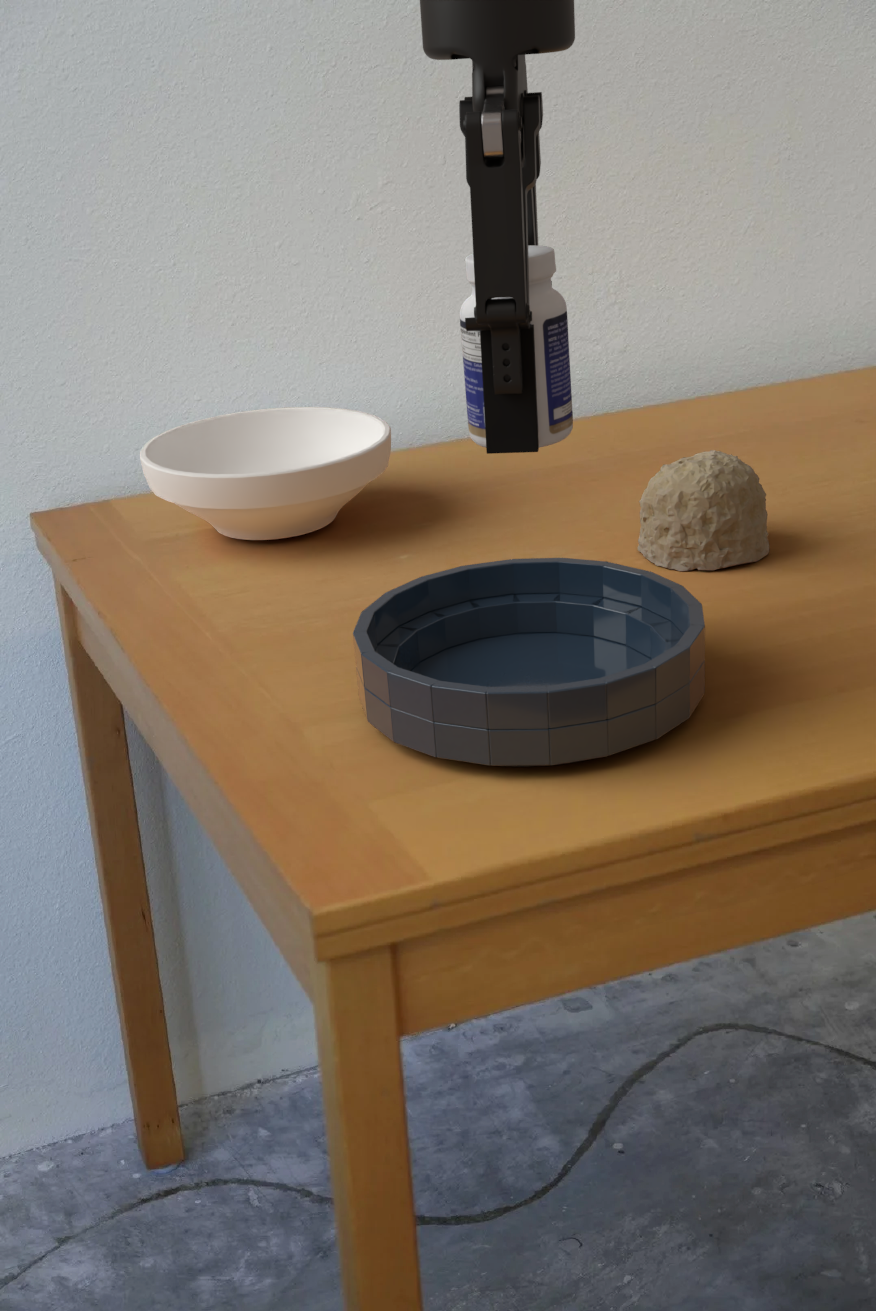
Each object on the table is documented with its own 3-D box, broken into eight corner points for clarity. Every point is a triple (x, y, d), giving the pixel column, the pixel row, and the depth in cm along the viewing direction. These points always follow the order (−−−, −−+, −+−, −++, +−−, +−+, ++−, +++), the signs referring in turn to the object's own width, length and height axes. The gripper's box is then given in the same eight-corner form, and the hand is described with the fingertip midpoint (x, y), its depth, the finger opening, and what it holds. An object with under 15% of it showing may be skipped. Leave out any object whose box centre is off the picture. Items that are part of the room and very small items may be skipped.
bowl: (137, 510, 124) (124, 427, 121) (361, 475, 129) (354, 394, 126) (172, 586, 107) (158, 491, 104) (430, 541, 112) (423, 450, 109)
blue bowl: (695, 628, 93) (695, 553, 91) (713, 778, 75) (713, 689, 73) (388, 634, 96) (381, 561, 94) (335, 780, 78) (326, 695, 76)
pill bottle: (538, 418, 84) (529, 239, 80) (593, 438, 80) (587, 249, 76) (450, 437, 82) (436, 254, 78) (501, 459, 77) (489, 265, 73)
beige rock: (638, 610, 107) (632, 529, 98) (639, 503, 112) (634, 417, 103) (769, 608, 105) (775, 525, 97) (765, 500, 110) (770, 412, 102)
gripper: (440, -25, 80) (465, 394, 90) (390, -30, 63) (428, 488, 73) (578, -35, 79) (589, 389, 89) (565, -43, 62) (581, 483, 72)
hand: (516, 433), depth 81 cm, fingers closed on pill bottle, 6 cm apart
